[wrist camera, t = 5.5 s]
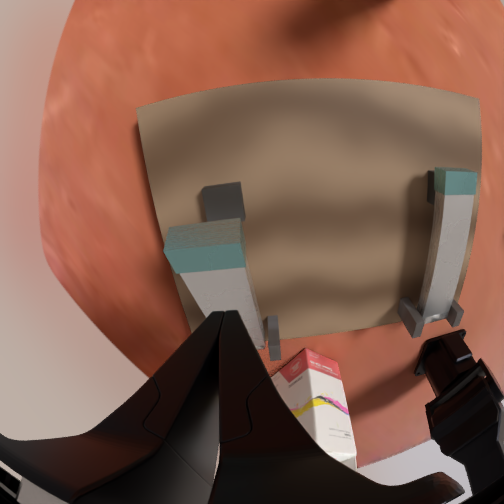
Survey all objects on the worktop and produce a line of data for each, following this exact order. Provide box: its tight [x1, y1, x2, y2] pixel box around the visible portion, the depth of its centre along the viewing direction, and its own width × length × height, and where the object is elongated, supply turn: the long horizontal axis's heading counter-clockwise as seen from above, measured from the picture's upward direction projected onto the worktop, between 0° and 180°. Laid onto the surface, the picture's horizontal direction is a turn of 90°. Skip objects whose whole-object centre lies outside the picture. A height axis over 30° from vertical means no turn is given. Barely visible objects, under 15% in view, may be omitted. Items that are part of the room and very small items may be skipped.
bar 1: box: [163, 218, 266, 350], centre depth 16 cm, size 13×3×1 cm, turn 7°
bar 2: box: [417, 167, 477, 324], centre depth 17 cm, size 13×3×1 cm, turn 7°
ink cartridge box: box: [271, 348, 357, 472], centre depth 21 cm, size 9×5×15 cm, turn 147°
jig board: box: [136, 78, 482, 361], centre depth 18 cm, size 20×26×6 cm
